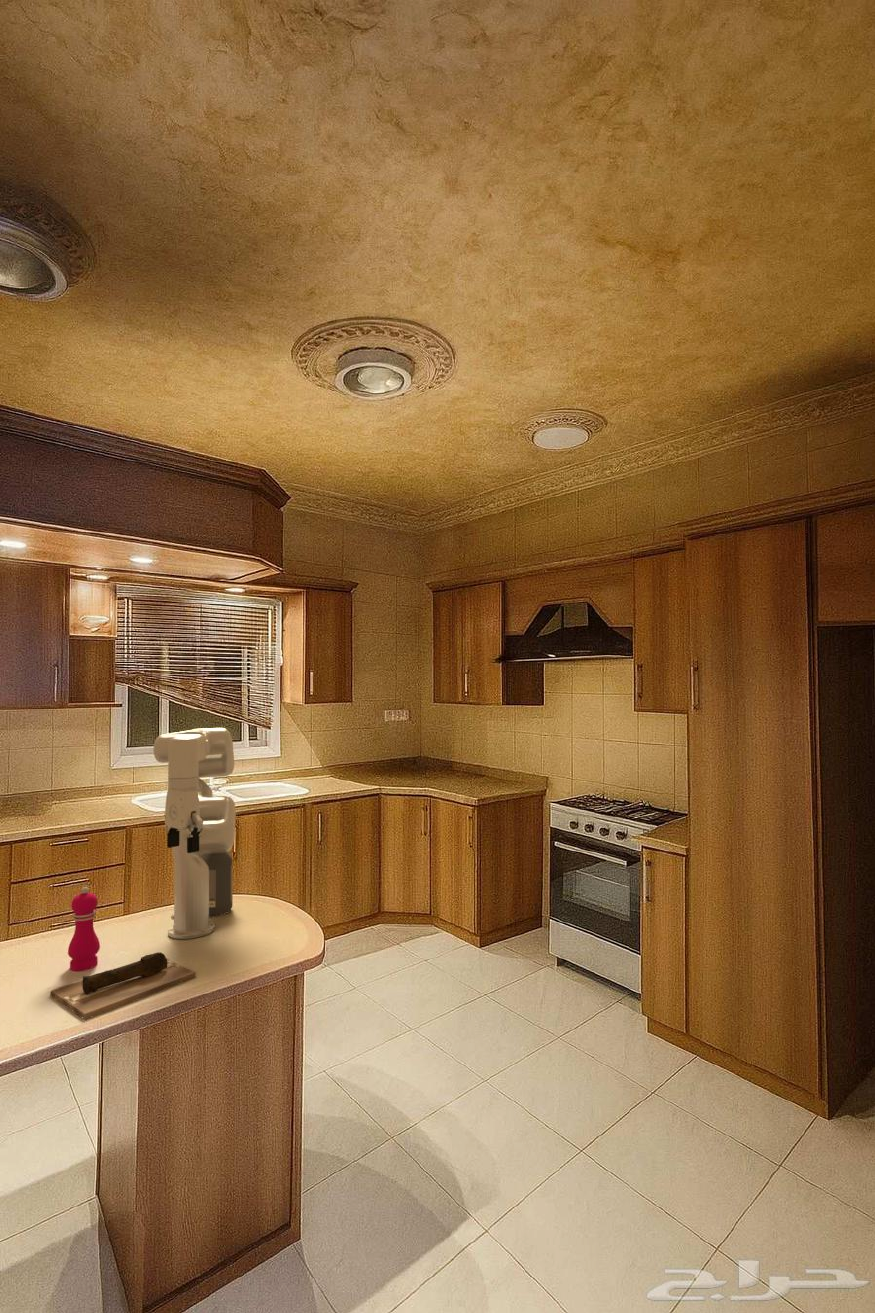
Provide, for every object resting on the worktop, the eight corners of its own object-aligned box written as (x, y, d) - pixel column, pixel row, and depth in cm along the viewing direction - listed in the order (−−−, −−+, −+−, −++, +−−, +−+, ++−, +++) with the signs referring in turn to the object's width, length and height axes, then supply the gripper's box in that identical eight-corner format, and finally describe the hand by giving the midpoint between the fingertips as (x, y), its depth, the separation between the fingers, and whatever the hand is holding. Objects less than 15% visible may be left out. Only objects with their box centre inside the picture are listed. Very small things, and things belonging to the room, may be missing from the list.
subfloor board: (50, 996, 153) (50, 990, 153) (158, 959, 173) (158, 954, 173) (84, 1019, 141) (84, 1013, 141) (195, 977, 162) (195, 972, 162)
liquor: (219, 905, 216) (220, 812, 217) (235, 910, 210) (236, 815, 211) (194, 912, 209) (194, 816, 210) (210, 918, 203) (210, 820, 204)
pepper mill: (94, 958, 174) (95, 881, 175) (103, 966, 169) (104, 886, 170) (63, 966, 169) (65, 887, 170) (72, 975, 164) (73, 893, 165)
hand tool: (85, 998, 149) (86, 976, 149) (81, 991, 152) (81, 971, 152) (170, 973, 161) (171, 953, 162) (165, 968, 164) (165, 949, 165)
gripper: (153, 783, 177) (152, 847, 177) (187, 788, 167) (187, 857, 166) (179, 779, 183) (179, 842, 182) (214, 785, 172) (214, 851, 172)
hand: (183, 849), depth 174 cm, fingers open, 9 cm apart
